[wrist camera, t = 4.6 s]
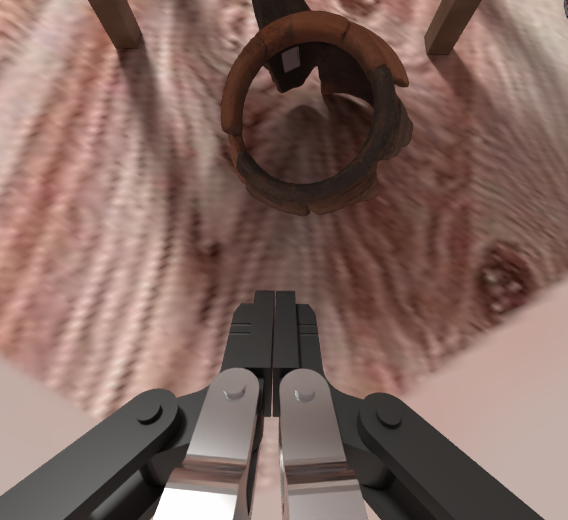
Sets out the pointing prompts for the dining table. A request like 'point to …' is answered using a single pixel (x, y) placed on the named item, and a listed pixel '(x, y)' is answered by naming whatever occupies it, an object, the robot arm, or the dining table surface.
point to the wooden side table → (438, 39)
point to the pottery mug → (334, 79)
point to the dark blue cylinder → (566, 7)
